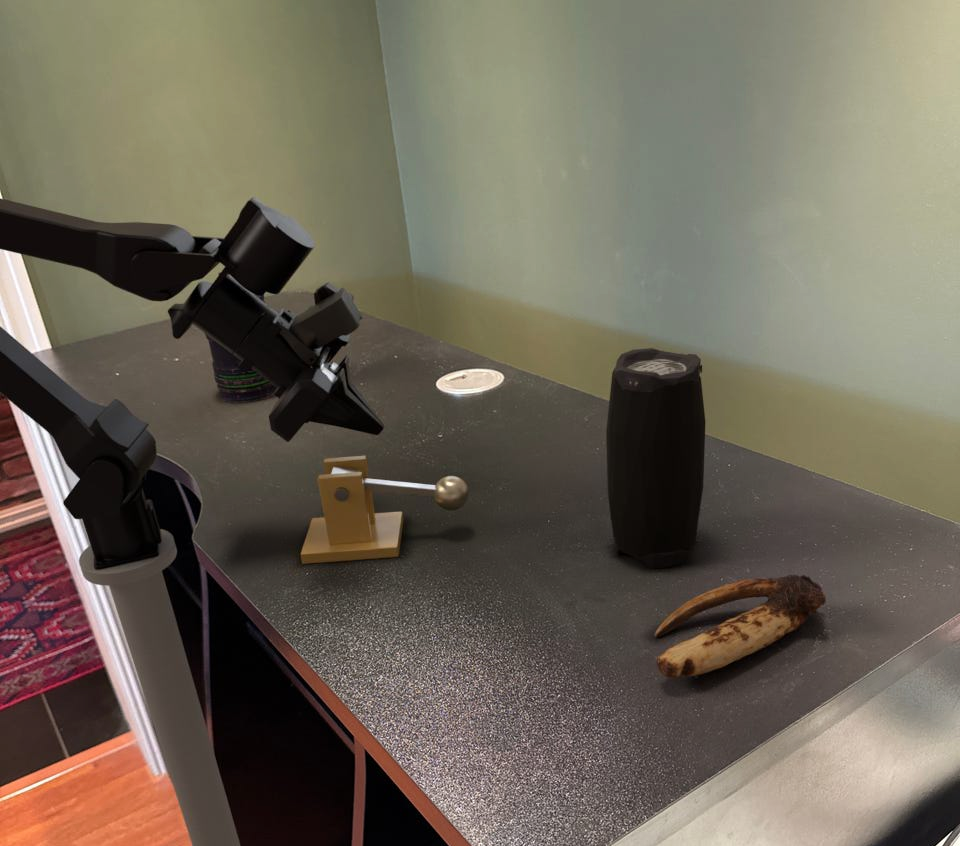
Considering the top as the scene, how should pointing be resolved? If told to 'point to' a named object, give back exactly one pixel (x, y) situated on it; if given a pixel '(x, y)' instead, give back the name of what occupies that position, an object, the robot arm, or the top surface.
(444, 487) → the tap lever
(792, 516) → the top surface
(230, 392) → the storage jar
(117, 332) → the top surface
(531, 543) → the top surface
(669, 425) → the portable speaker
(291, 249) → the robot arm
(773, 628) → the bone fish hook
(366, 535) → the tap bracket
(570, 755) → the top surface
